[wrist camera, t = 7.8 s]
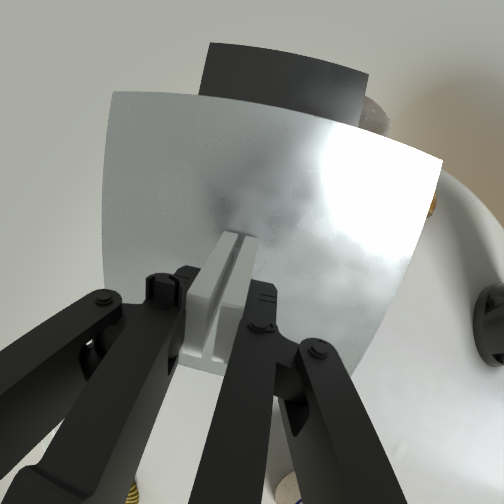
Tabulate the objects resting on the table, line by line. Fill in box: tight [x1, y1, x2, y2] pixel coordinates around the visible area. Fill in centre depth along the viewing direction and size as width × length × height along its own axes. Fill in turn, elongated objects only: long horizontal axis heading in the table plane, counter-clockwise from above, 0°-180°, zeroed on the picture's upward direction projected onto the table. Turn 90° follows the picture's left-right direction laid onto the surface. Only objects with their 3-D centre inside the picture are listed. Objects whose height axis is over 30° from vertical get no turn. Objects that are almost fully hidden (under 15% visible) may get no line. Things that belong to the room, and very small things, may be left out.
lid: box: [102, 43, 442, 377], centre depth 16 cm, size 18×21×1 cm
